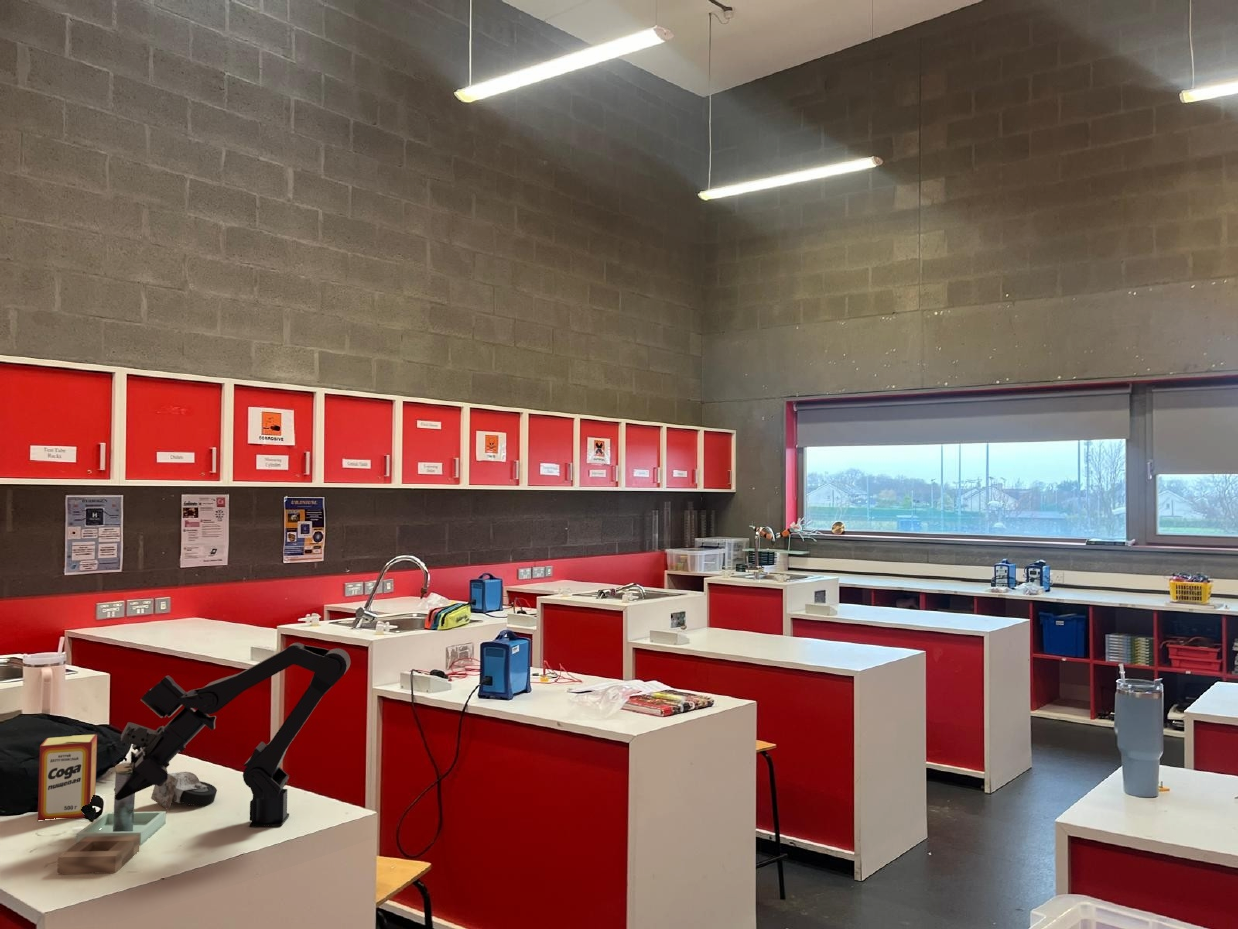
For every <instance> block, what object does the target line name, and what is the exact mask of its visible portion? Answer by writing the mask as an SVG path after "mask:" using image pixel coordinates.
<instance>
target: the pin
mask: <svg viewBox="0 0 1238 929" xmlns="http://www.w3.org/2000/svg"><path fill="white" fill-rule="evenodd" d="M114 773H115V777H114V778H115V781H114V784H115V785H114V788H115V791H114V796H115V795H116V794H117V792H118V791H119V790H120V788H121V787H122V786H123V784H124V783H125V782H126V780H127V779H128V778H129V777H130V775H131V774H132V763H131V762H122V763H119V764H116V765H115V766H114ZM135 797H136V793H134V794H132V795H130V796H128V797H125V798H123V799H121V800H119V801H118V800H116V799H115V798H114V799H113V801H114V803H113V812H114V817H113V832H121V831H133V821H134V812H135V799H136V798H135Z"/></svg>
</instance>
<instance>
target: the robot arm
mask: <svg viewBox="0 0 1238 929" xmlns="http://www.w3.org/2000/svg"><path fill="white" fill-rule="evenodd" d="M350 657H351V656H350V655H349V653H348V652H347V651H346V650H345V649H342V648H332V649H328V648H323V647H318V646H313V645H306V644H303V643H301V642H294V643H291V644H290V645H289V646H287V647H286V648H285V649H283V650H281V651H279V652H277V653H274V654H273V655H271V656H270V657H267V658H266V659H264V660H262V661H260V662H257V663H256V664H254V665H252V666H250V667H249V668H246V669H245V670H243V671H241V672H239V673H235V674H233V675H229V676H226V677H222V678H219V679H216V680H213V681H211V682H209V683H208V684H207V685H205V686H203V687H201V688H196V689H195V688H194V689H191V690H189V691H185V690H184V689H183V687H181V686H180V685H178V683H177V682H175V680H174V678H173V677H171V676H170V675H166V676H164V677H163V678H162V679H161V680H160V681H159V682H157V683H156V684H155V685H153V687H151V688H150V689H149V690H147V692H145V693H144V695H143V696H142V697H141V698H140V701H141V702H142V703H144V705H146V706H147V707H148V708H149V709H150V710H152V711H153V713H155V714H156V715H157V716H158V717H159V718H161V719H162V718H166V717H168V718H170V717H172V716H173V715H175V713H176V712H177V711H178V710H179V709H180V708H181V707H182V706H183V707H182V709H181V710H180V711H179V712H178V713H177V714H176V715H175V716H174V717H173V718H172V719H171V720H170V721H169V722H168V723H167V724H165V726H164V725H162V726H159V727H158V728H157V729H156V730H155V729H152V728H150V727H146V726H144V725H140V724H137V723H134V722H129V721H128V722H127V724H126V726H125V727H124V729H123V731H122V732H121V735H120V736H119V738H120V742H122V743H124V744H127V745H128V744H130V745H131V748H132V750H134V751H130V763H132V774H131V775H130V777H129V778H128V779H127V780H126V782H125V783H124V784H123V786H122V787H121V788H120V790H119V791H118V792H117V794H116V795H115V794H114V798H115V799H116V800H118V801H119V800H121V799H123V798H125V797H128V796H130V795H132V794H134V793H135V794H136V793H138V792H140V791H143V790H145V789H148V788H149V787H152V786H155V785H157V786H159V787H160V786H161V785H162V784H163V783H164V782H165V781H166V780H167V779H168V769H167V768H168V767H169V766H170V762H171V760H172V759H174V757H176V756H177V755H178V753H183V752H184V751H185V750H186V749H187V748H186V745H188V743H189V742H191V740H192V739H193V738H194V737H195V736H196V735H197V734H198V733H199V732H201V730H202V729H203V728H204V727H207V728H209V730H210V731H213V730H215V729H216V719H217V715H213V714H215V713H218V712H219V711H221V710H222V709H223V708H224V707H225V706H226V705H228V704H230V702H232V701H233V700H235V699H236V698H237V697H238V696H240V695H241V694H242V693H243V692H244V691H247V690H249V689H250V688H252V687H254V686H256V685H258V684H260V683H261V682H264V681H266V680H267V679H269V678H272V677H273V676H275V675H276V674H278V673H280V672H281V671H283V670H286V669H287V668H289V667H292V666H298V667H301V668H303V669H304V670H308V671H310V672H312V673H313V676H312V678H311V680H310V683H309V685H308V687H307V689H306V690H305V692H304V693H303V694H302V696H301V697H300V698H299V700H298V702H297V703H296V704H295V706H294V708H292V711H291V712H290V713H289V715H288V716H287V718H286V719H285V720H284V721H283V723H282V725H281V726H280V728H279V729H278V731H277V732H276V733H275V735H274V737H273V738H272V739H271V740H270V741H269V742H268V743H265V742H264V741H260V743H259V744H258V745H257V746H256V747H255V748H254V750H253V752H252V754H251V756H250V757H249V758H248V759H247V760H246V761H245V763H244V764H243V767H245V768H244V770H243V773H242V778H243V782H244V784H245V785H246V786H247V787H248V788H250V790H251V793H252V799H251V800H250V801H249V821H250V822H249V826H248V827H251V828H252V827H255V828H256V827H257V828H258V827H281V826H283V824H284V823H285V822H286V821H287V819H288V818H289V817H290V813H288V788H285V786H286V785H287V783H288V780H289V778H290V775H289V774H288V773H286V771H284V769H283V768H281V767H280V766H281V765H282V764H281V763H282V762H283V760H284V758H285V755H286V752H287V750H288V748H289V746H290V745H291V743H292V741H294V739H295V738H296V736H297V734H298V733H299V732H300V731H301V729H302V727H303V726H304V724H305V723H306V722H307V720H308V719H309V717H310V716H311V714H312V713H313V711H314V709H315V708H316V707H317V705H318V704H319V702H320V701H321V699H322V698H323V697H324V695H325V694H326V693H328V692H329V691H330V690H331V689H332V688H333V686H334V685H336V683H337V682H338V681H340V679H341V678H343V676H344V675H345V674H346V672H348V670H349V668H350V666H351V658H350ZM210 715H212V716H210ZM136 750H137V751H136ZM135 751H136V752H135ZM113 791H114V792H115V787H114V788H113Z"/></svg>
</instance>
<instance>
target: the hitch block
mask: <svg viewBox="0 0 1238 929" xmlns="http://www.w3.org/2000/svg"><path fill="white" fill-rule="evenodd" d="M139 843H140V836H92V837H84V838H83V839H81V840H80V841H79V842H77V843H75V844H74V845H72V846H71V847H69V848H68V849H67V850H65V851H64V852H63V853H61V854H60V855H59V856H57V873H56V874H57V875H77V873H79V874H80V875H81V874H87V875H88V874H116V873H117V872H118V871H119V870H121V869H122V868H123V867H124V866H125V865H126V864H127V863H128V862H129V861H130V860H131V859H133V858H134V857H135V856H136V855H137V854H138V853H139V852H140V846H139ZM137 852H138V853H137ZM135 854H136V855H135ZM134 855H135V856H134ZM133 856H134V857H133ZM79 874H78V875H79Z"/></svg>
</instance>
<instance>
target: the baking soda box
mask: <svg viewBox="0 0 1238 929" xmlns="http://www.w3.org/2000/svg"><path fill="white" fill-rule="evenodd" d="M97 745H98V734H81V735H80V734H79V735H71V736H55V737H47V738H46V739H44V741H43V742H42V743H41V744H40V746H39V761H38V762H39V763H38V764H39V766H38V768H39V769H38V770H39V771H38V801H37V802H38V803H37V821H38V820H45V819H54V818H55V819H56V818H71V819H77V818H86V817H85V816H84V814H83V813H82V811H81V809H82V807H83V806H85V805H88V804H90V802H91V799H92V797H93V795H95V796H96V785H97V784H96V780H97V749H98V746H97Z"/></svg>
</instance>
